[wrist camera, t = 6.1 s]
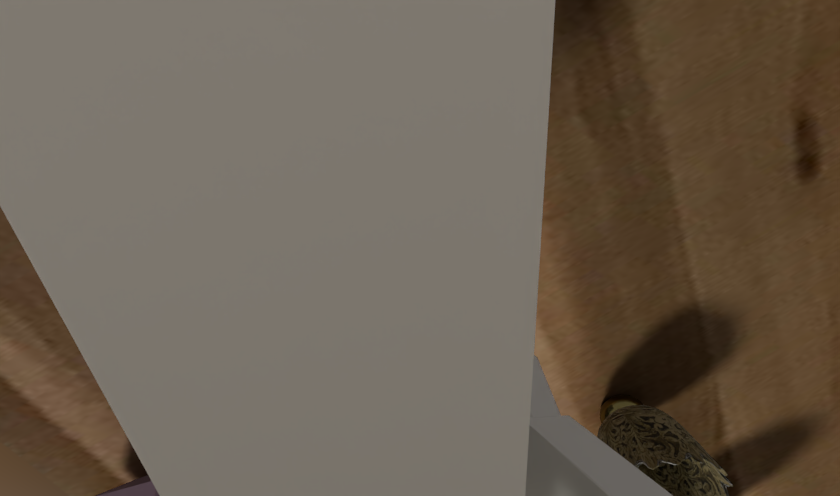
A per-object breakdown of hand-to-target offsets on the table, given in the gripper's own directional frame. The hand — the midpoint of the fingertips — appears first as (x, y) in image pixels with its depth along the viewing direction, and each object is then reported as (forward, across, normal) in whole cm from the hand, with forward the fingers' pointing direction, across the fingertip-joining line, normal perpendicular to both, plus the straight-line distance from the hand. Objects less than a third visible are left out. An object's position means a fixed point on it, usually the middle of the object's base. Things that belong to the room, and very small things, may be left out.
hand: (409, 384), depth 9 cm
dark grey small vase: (+18, -16, +21) cm, 32 cm away
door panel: (+3, 0, 0) cm, 3 cm away
